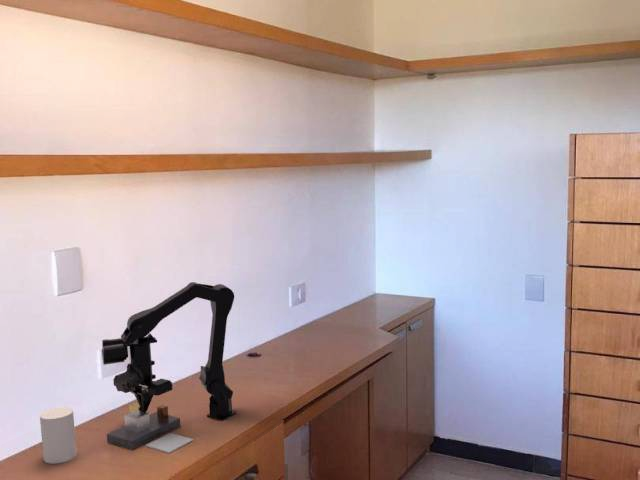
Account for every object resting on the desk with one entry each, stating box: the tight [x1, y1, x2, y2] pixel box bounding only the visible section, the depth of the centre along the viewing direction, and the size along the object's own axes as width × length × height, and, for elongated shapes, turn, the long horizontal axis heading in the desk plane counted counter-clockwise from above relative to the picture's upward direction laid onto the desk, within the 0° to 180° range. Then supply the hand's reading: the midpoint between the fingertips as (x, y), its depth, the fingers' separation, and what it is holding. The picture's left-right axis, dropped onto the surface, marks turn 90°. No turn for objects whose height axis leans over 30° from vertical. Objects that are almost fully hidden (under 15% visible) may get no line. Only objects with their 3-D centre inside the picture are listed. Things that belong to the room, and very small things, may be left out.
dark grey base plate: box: [106, 404, 182, 451], centre depth 186 cm, size 18×10×6 cm, turn 146°
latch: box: [128, 402, 142, 413], centre depth 191 cm, size 2×4×4 cm, turn 56°
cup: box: [39, 406, 78, 465], centre depth 174 cm, size 8×8×12 cm
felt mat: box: [145, 432, 194, 454], centre depth 180 cm, size 9×9×1 cm
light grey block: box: [123, 410, 150, 433], centre depth 185 cm, size 4×5×4 cm
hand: (144, 411), depth 189 cm, fingers closed
